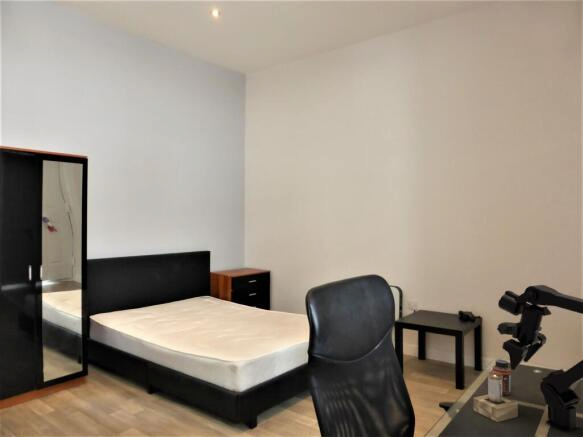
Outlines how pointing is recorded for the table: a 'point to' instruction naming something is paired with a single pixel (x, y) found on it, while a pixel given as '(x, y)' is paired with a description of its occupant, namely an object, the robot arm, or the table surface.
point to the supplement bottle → (504, 375)
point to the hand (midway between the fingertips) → (519, 365)
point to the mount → (496, 408)
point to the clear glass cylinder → (495, 387)
